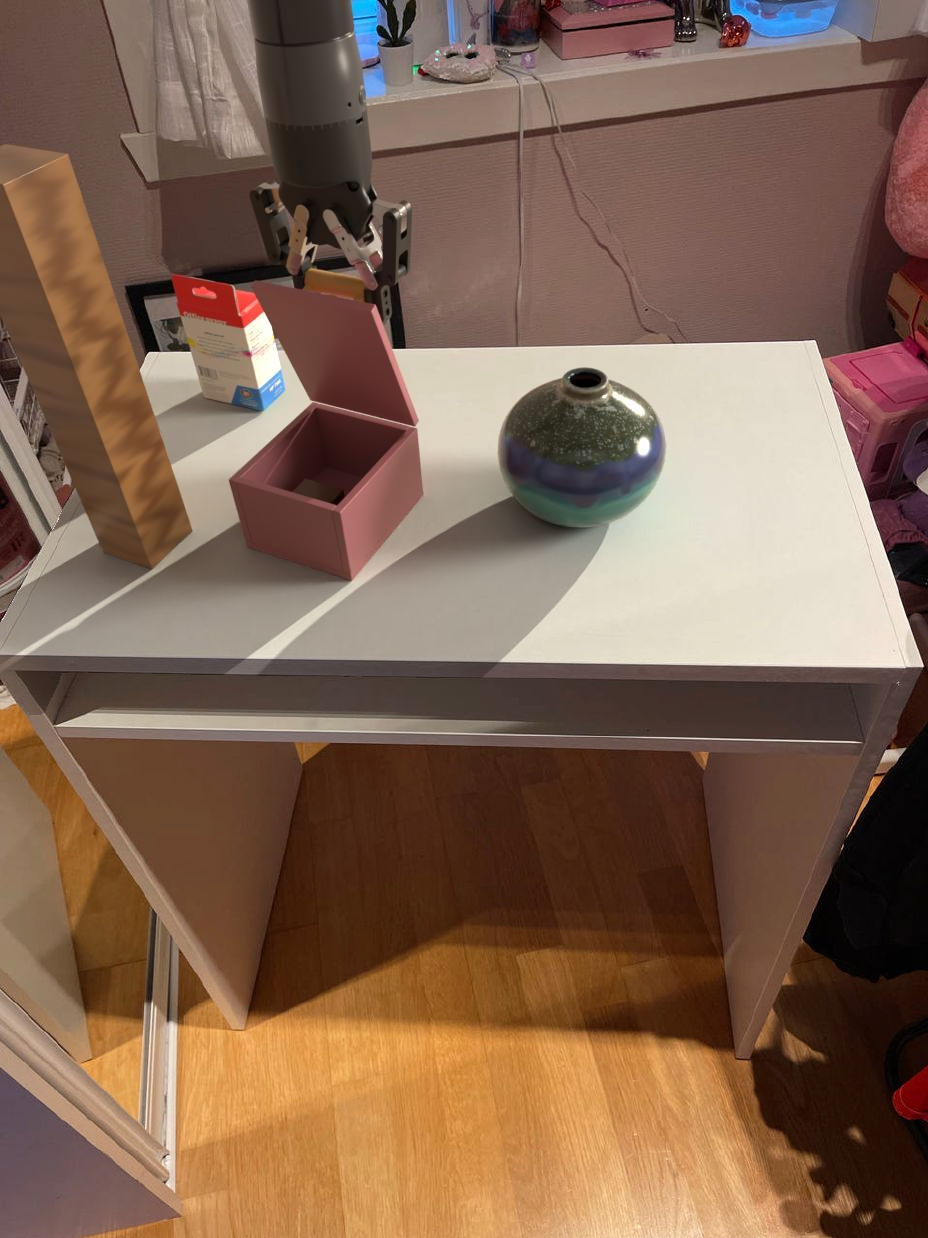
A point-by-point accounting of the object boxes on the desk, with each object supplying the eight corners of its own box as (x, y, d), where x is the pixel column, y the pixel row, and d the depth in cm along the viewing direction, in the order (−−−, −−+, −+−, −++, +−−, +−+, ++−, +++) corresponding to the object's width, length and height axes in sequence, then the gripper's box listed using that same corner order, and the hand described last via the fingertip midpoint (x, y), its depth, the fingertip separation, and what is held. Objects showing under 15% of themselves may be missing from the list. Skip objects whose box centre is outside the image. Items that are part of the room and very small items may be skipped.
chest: (352, 581, 81) (340, 512, 75) (246, 546, 85) (228, 479, 79) (423, 495, 89) (417, 427, 84) (324, 467, 93) (312, 401, 88)
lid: (371, 311, 71) (397, 267, 72) (250, 286, 74) (277, 245, 76) (415, 427, 83) (437, 387, 85) (310, 400, 87) (332, 362, 89)
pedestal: (152, 569, 83) (2, 184, 59) (102, 552, 85) (-62, 172, 61) (193, 530, 87) (68, 153, 63) (144, 515, 89) (5, 143, 65)
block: (326, 551, 83) (319, 515, 80) (288, 539, 84) (279, 504, 81) (349, 524, 85) (343, 488, 82) (312, 513, 87) (305, 478, 84)
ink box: (287, 391, 104) (262, 266, 93) (263, 413, 101) (234, 287, 90) (226, 377, 107) (195, 254, 96) (201, 398, 104) (166, 274, 93)
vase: (467, 516, 87) (461, 394, 77) (550, 437, 95) (554, 319, 86) (609, 575, 80) (622, 450, 71) (685, 484, 89) (705, 362, 79)
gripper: (204, 109, 66) (252, 323, 78) (373, 131, 61) (396, 355, 73) (263, 80, 71) (300, 286, 83) (425, 98, 66) (439, 314, 78)
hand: (345, 318), depth 78 cm, fingers closed on lid, 6 cm apart
